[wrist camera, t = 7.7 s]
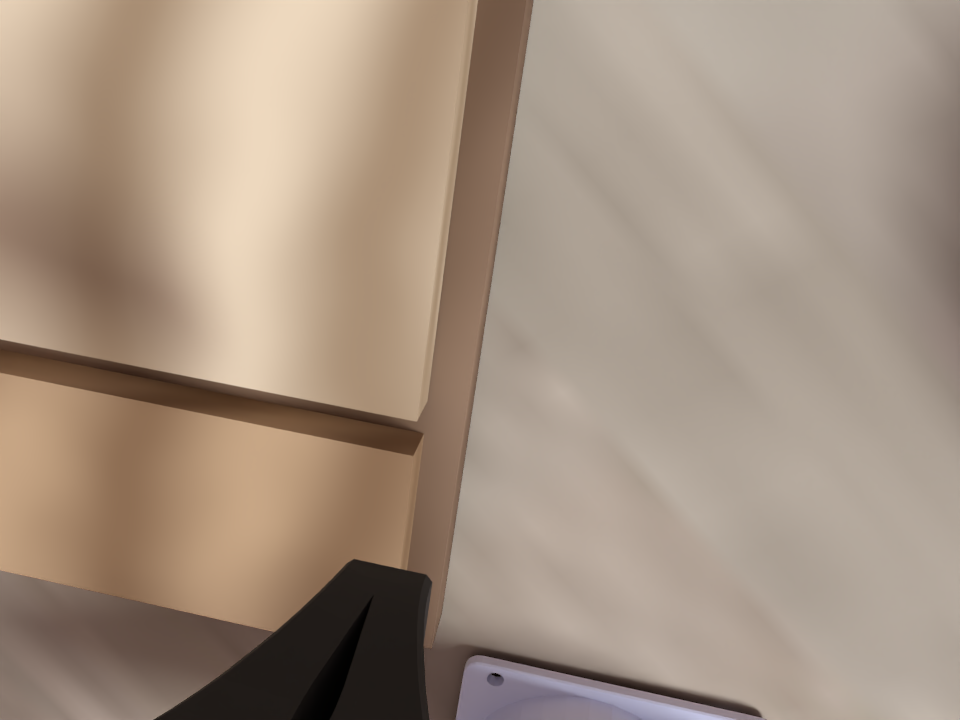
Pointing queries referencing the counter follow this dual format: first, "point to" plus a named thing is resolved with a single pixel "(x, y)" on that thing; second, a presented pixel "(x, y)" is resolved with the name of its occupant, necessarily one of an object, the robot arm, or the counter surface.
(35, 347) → the board
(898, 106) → the counter surface
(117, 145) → the oak plank
